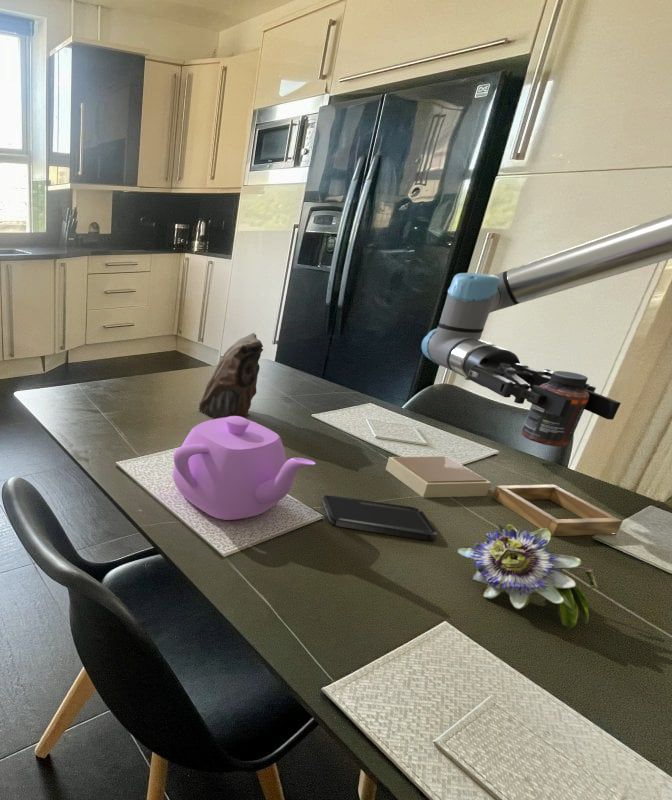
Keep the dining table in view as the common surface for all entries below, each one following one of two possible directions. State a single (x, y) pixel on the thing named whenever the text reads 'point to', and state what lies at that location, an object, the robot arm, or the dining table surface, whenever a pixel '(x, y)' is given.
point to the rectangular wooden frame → (592, 516)
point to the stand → (437, 476)
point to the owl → (233, 380)
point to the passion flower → (528, 571)
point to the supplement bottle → (550, 426)
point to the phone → (378, 517)
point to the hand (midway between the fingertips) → (589, 409)
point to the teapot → (234, 468)
